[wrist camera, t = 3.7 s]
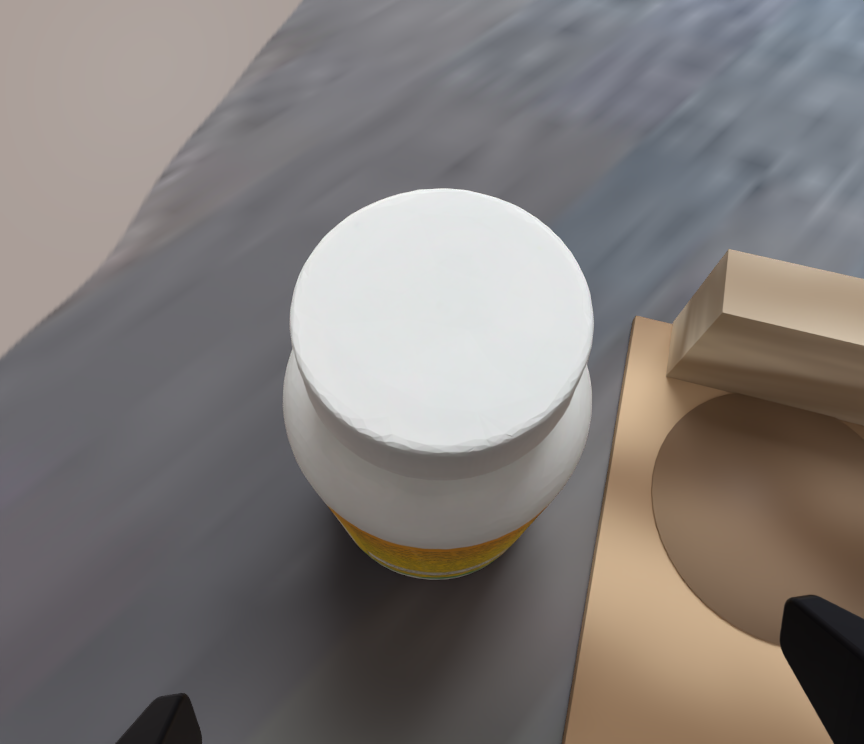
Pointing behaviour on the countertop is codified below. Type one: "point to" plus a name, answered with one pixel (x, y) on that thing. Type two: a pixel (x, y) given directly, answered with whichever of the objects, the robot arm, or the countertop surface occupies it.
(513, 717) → the countertop surface
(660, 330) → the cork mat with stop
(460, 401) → the supplement bottle
